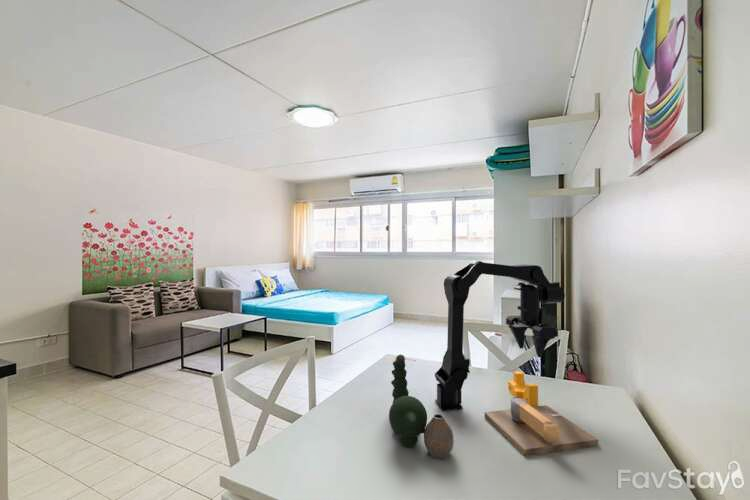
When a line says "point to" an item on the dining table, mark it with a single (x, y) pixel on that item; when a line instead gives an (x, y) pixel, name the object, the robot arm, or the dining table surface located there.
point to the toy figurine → (405, 408)
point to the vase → (438, 437)
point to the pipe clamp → (523, 389)
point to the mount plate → (531, 440)
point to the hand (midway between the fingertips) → (530, 352)
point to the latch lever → (534, 419)
